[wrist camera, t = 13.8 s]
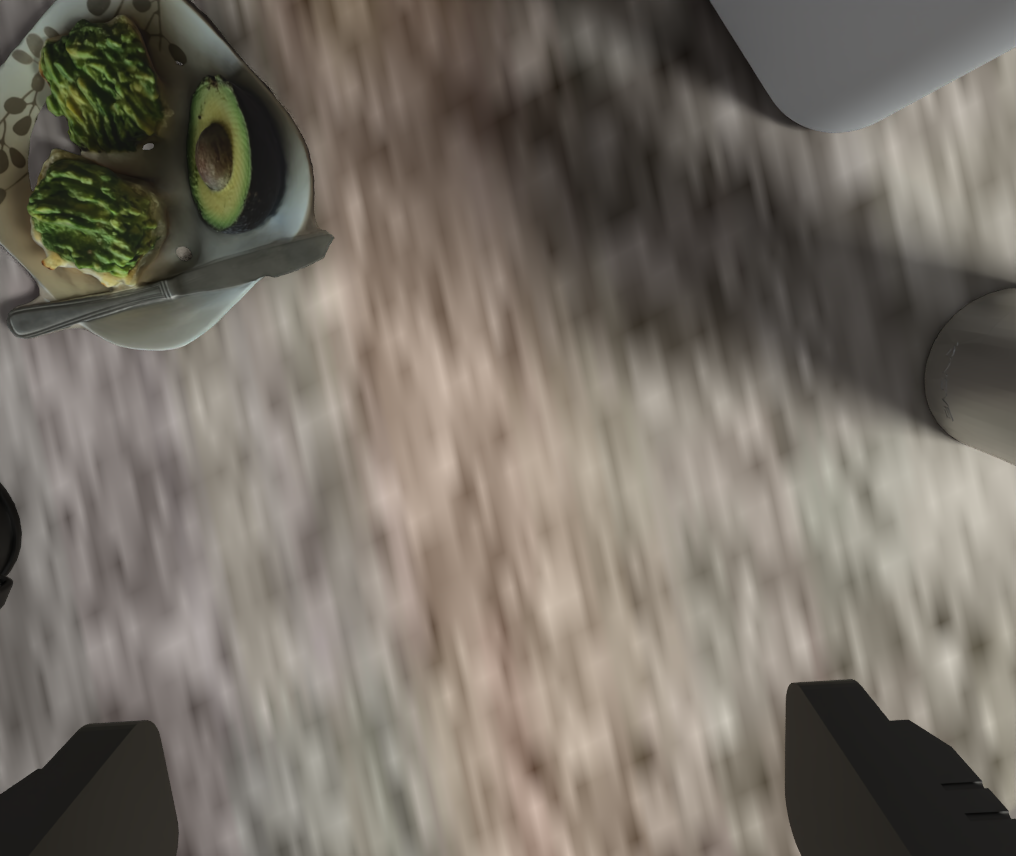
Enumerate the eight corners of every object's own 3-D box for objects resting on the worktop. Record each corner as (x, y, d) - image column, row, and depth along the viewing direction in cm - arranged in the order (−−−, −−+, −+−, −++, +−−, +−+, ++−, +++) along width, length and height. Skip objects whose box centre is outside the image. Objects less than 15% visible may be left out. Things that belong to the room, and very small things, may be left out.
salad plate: (136, 435, 43) (92, 456, 39) (-101, 193, 40) (-179, 185, 36) (379, 214, 40) (361, 209, 36) (141, -65, 37) (90, -109, 33)
